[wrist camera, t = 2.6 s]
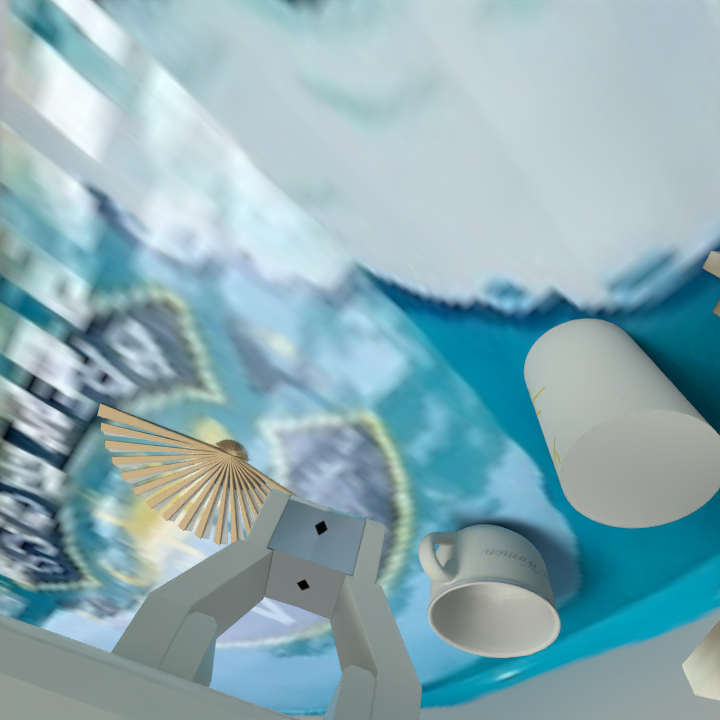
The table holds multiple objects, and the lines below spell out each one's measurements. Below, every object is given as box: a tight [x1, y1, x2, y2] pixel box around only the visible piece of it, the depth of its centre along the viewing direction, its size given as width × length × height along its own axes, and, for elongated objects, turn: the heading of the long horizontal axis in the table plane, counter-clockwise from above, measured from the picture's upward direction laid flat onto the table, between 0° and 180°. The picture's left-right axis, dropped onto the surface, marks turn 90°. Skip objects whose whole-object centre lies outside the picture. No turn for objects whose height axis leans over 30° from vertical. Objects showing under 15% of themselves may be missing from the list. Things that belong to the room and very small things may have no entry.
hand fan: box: [98, 404, 298, 546], centre depth 47 cm, size 26×1×15 cm
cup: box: [524, 319, 720, 528], centre depth 30 cm, size 8×8×12 cm
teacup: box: [419, 524, 561, 658], centre depth 41 cm, size 14×11×8 cm
